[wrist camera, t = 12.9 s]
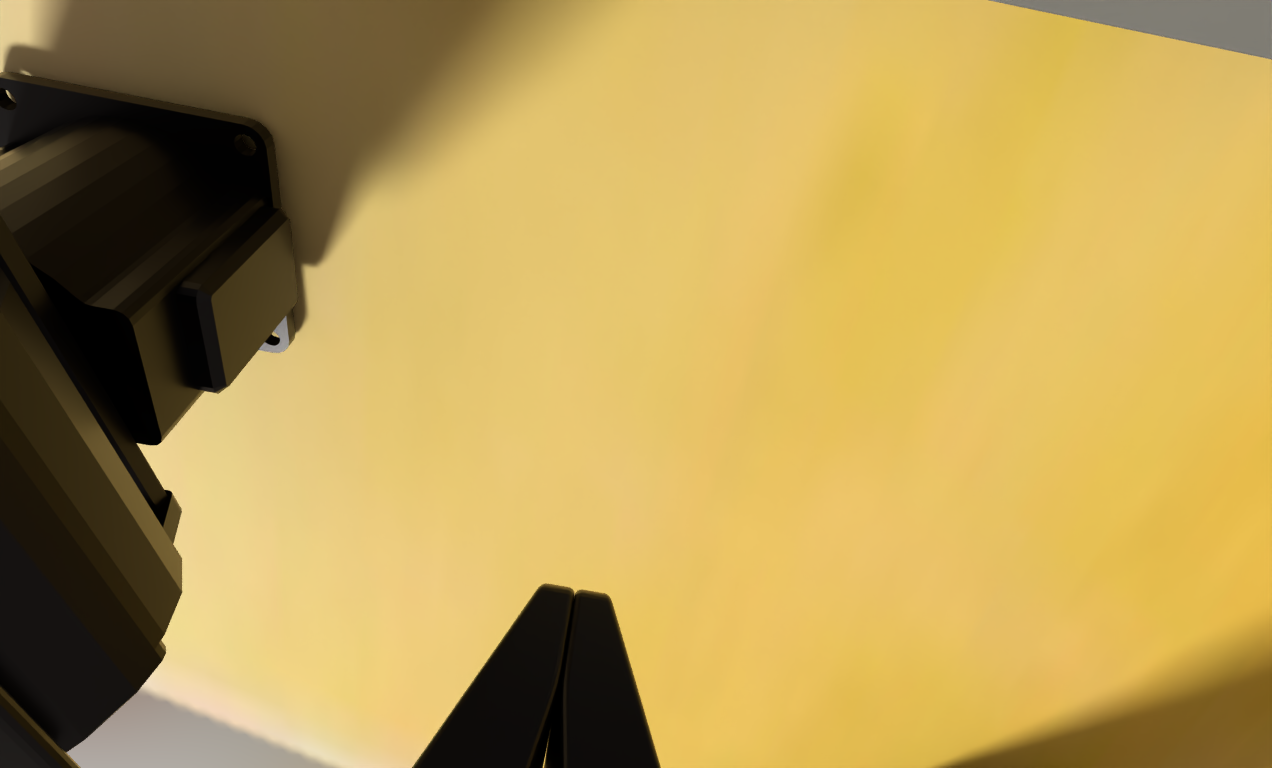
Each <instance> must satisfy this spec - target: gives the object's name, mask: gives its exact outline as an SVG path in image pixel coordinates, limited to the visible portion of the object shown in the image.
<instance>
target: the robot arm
mask: <svg viewBox="0 0 1272 768" xmlns="http://www.w3.org/2000/svg"><path fill="white" fill-rule="evenodd" d="M6 90H8V91H9V92H10V93H11V94H12V95H13V96H14V98H15V100H16V103H15V102H13V101H12V100H11V99H10V98H9V97H8V95H7V93H6ZM243 134H244V135H246V136H248V137H250V138H251V139H252V140H253V141H254V142H255V145H256V150H254V149H251V148H249V147H248V146H247V145H246V144H245V143H244V141H243V138H242V135H243ZM297 301H298V293H297V283H296V274H295V264H294V255H293V245H292V235H291V226H290V219H289V218H288V216H287V215H286V213H285V212H284V211H283V210H282V209H281V200H280V191H279V182H278V173H277V164H276V155H275V145H274V141H273V138H272V135H271V133H270V132H269V131H268V129H267V128H266V127H265V126H264V125H262V124H261V123H260V122H258V121H256V120H253V119H250V118H245V117H240V116H235V115H229V114H224V113H219V112H214V111H209V110H204V109H198V108H193V107H188V106H183V105H178V104H173V103H167V102H162V101H157V100H152V99H147V98H142V97H136V96H131V95H126V94H121V93H116V92H111V91H105V90H100V89H95V88H90V87H85V86H80V85H75V84H69V83H64V82H59V81H54V80H49V79H44V78H38V77H33V76H28V75H23V74H18V73H13V72H2V73H0V768H80V766H78V764H77V763H76V762H75V761H74V760H73V759H72V758H71V757H70V756H69V755H68V754H67V753H66V752H68V751H69V750H71V749H72V748H74V747H75V746H76V745H78V744H79V743H81V742H82V741H84V740H85V739H86V738H87V737H88V736H89V735H91V734H92V733H93V732H94V731H95V730H96V729H97V728H98V727H100V726H101V725H102V724H103V723H104V722H105V721H106V720H107V719H108V718H110V717H111V716H112V715H113V714H114V713H115V712H116V711H117V710H118V709H119V708H121V707H122V706H123V705H124V704H125V703H126V702H127V701H128V700H129V699H130V698H132V697H133V696H134V695H135V694H136V693H137V692H138V690H139V689H140V688H141V687H142V685H143V684H144V683H145V682H146V680H147V679H148V678H149V677H150V675H151V674H152V673H153V672H154V670H155V669H156V668H157V667H158V665H159V664H160V663H161V662H162V660H163V658H164V656H165V654H166V646H165V645H164V644H163V642H162V641H161V639H162V638H163V636H164V635H165V632H166V630H167V628H168V625H169V623H170V620H171V618H172V615H173V613H174V611H175V608H176V606H177V603H178V601H179V599H180V596H181V594H182V558H181V556H180V555H179V553H178V551H177V550H176V548H175V547H174V545H173V543H174V539H175V535H176V532H177V528H178V524H179V520H180V516H181V512H182V511H181V507H180V506H179V504H178V502H177V501H176V499H175V497H174V495H173V494H172V492H171V491H169V490H164V489H163V487H162V485H161V484H160V482H159V480H158V479H157V477H156V475H155V473H154V472H153V470H152V468H151V467H150V465H149V463H148V462H147V460H146V458H145V457H144V455H143V453H142V452H141V450H140V448H139V447H138V445H137V443H140V444H146V445H158V444H159V443H161V442H162V441H163V440H164V438H165V437H166V436H167V435H168V434H169V432H170V431H171V430H172V429H173V428H174V426H175V425H176V424H177V423H178V422H179V421H180V419H181V418H182V417H183V416H184V415H185V413H186V412H187V411H188V410H189V409H190V408H191V406H192V405H193V404H194V403H195V402H196V400H197V399H198V398H199V397H200V396H201V395H202V393H203V392H204V391H207V392H212V393H220V392H221V391H222V390H224V389H225V388H227V387H228V386H229V385H230V384H231V383H232V382H233V381H234V379H235V378H236V377H237V376H238V374H239V373H240V372H241V371H242V369H243V368H244V367H245V366H246V364H247V363H248V362H249V361H250V360H251V358H252V357H253V356H254V355H255V353H256V352H257V351H258V350H261V351H267V352H272V353H280V352H283V351H285V350H286V349H287V348H288V346H289V345H290V344H291V342H292V341H293V340H294V338H295V327H294V318H293V309H292V308H293V306H294V305H295V304H296V303H297ZM272 332H275V333H276V334H277V335H278V336H279V338H278V337H275V336H273V335H272ZM547 744H548V745H547ZM546 748H547V751H546ZM545 753H546V758H545ZM544 758H545V765H544V768H661V767H660V763H659V760H658V757H657V753H656V750H655V746H654V743H653V740H652V736H651V733H650V729H649V726H648V723H647V719H646V716H645V712H644V709H643V706H642V702H641V699H640V695H639V692H638V688H637V685H636V682H635V678H634V675H633V671H632V668H631V665H630V661H629V658H628V654H627V651H626V648H625V644H624V641H623V637H622V634H621V631H620V627H619V624H618V620H617V617H616V614H615V610H614V607H613V603H612V601H611V599H610V597H609V596H608V595H607V594H605V593H599V592H593V591H587V590H579V591H577V592H576V593H575V597H574V591H573V589H571V588H569V587H564V586H558V585H552V584H543V585H541V586H540V587H539V588H538V589H537V590H536V592H535V593H534V595H533V596H532V597H531V599H530V600H529V602H528V603H527V605H526V606H525V607H524V609H523V610H522V612H521V613H520V615H519V616H518V617H517V619H516V620H515V622H514V623H513V625H512V626H511V627H510V629H509V630H508V632H507V633H506V635H505V636H504V637H503V639H502V640H501V642H500V643H499V645H498V646H497V647H496V649H495V650H494V652H493V653H492V655H491V656H490V657H489V659H488V660H487V662H486V663H485V665H484V666H483V667H482V669H481V670H480V672H479V673H478V675H477V676H476V677H475V679H474V680H473V682H472V683H471V685H470V686H469V687H468V689H467V690H466V692H465V693H464V694H463V696H462V697H461V699H460V700H459V702H458V703H457V704H456V706H455V707H454V709H453V710H452V712H451V713H450V714H449V716H448V717H447V719H446V720H445V722H444V723H443V724H442V726H441V727H440V729H439V730H438V732H437V733H436V734H435V736H434V737H433V739H432V740H431V742H430V743H429V744H428V746H427V747H426V749H425V750H424V752H423V753H422V754H421V756H420V757H419V759H418V760H417V762H416V763H415V764H414V766H413V767H412V768H543V763H544Z"/></svg>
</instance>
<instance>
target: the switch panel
mask: <svg viewBox="0 0 1272 768" xmlns="http://www.w3.org/2000/svg"><path fill="white" fill-rule="evenodd" d="M990 1H995V2H1000V3H1005V4H1009V5H1014V6H1019V7H1024V8H1028V9H1033V10H1038V11H1043V12H1048V13H1052V14H1057V15H1062V16H1067V17H1071V18H1076V19H1081V20H1086V21H1091V22H1095V23H1100V24H1105V25H1110V26H1115V27H1119V28H1124V29H1129V30H1134V31H1138V32H1143V33H1148V34H1153V35H1158V36H1162V37H1167V38H1172V39H1177V40H1181V41H1186V42H1191V43H1196V44H1201V45H1205V46H1210V47H1215V48H1220V49H1225V50H1229V51H1234V52H1239V53H1244V54H1248V55H1253V56H1258V57H1263V58H1268V59H1272V0H990Z"/></svg>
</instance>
